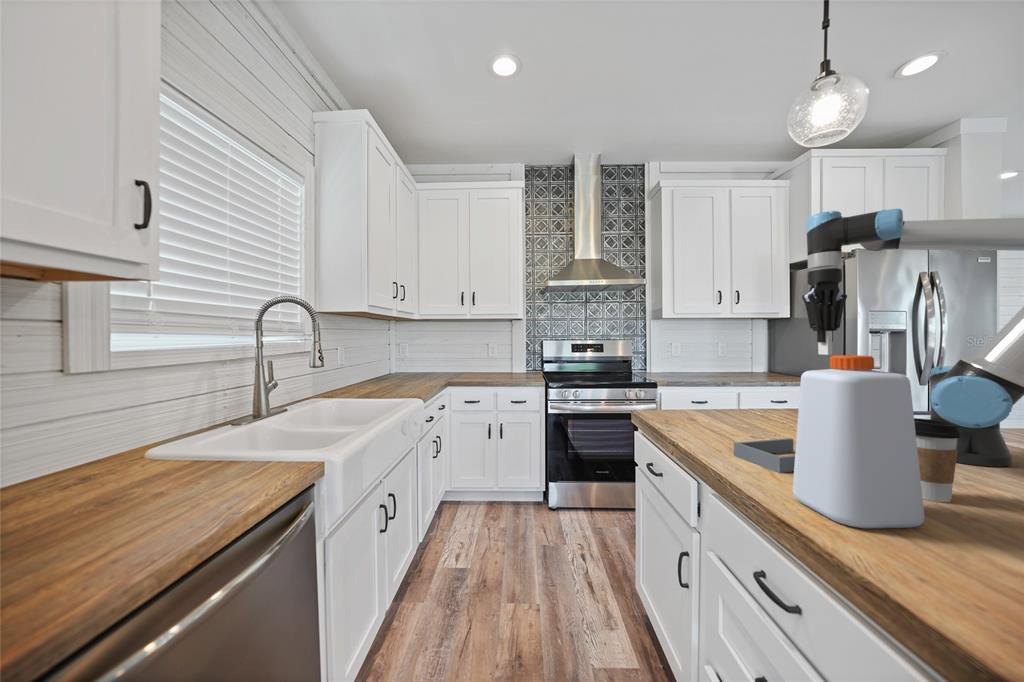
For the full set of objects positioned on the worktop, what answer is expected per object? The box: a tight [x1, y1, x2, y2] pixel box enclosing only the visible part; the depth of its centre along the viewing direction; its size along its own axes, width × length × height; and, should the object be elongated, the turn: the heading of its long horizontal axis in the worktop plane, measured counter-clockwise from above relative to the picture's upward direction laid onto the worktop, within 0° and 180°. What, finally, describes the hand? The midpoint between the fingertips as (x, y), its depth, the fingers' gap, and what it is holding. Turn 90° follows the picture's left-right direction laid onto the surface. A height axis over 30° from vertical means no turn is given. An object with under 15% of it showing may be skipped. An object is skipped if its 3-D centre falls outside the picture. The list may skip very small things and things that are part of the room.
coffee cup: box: [914, 417, 960, 503], centre depth 77 cm, size 8×8×15 cm
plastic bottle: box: [792, 354, 926, 529], centre depth 71 cm, size 15×15×28 cm
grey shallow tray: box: [733, 437, 795, 474], centre depth 100 cm, size 18×14×4 cm
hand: (825, 354), depth 110 cm, fingers closed
